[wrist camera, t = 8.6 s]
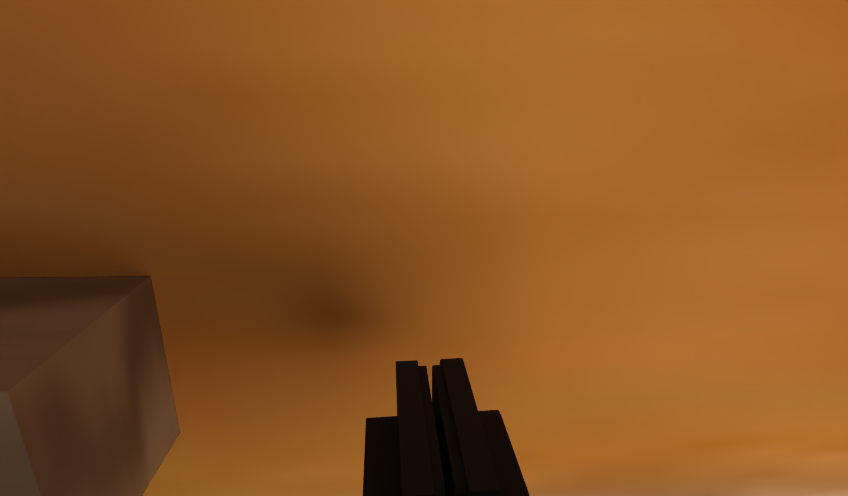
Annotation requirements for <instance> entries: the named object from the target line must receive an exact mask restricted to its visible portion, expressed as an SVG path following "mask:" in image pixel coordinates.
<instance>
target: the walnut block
mask: <svg viewBox="0 0 848 496" xmlns="http://www.w3.org/2000/svg"><path fill="white" fill-rule="evenodd" d="M179 433H180V430H179V425H178V419H177V414H176V409H175V403H174V398H173V393H172V387H171V382H170V377H169V371H168V366H167V361H166V356H165V350H164V345H163V340H162V334H161V329H160V324H159V318H158V313H157V308H156V302H155V297H154V292H153V287H152V281H151V276H107V277H18V278H0V496H142V495H143V493H144V492H145V490H146V488H147V487H148V485H149V483H150V481H151V480H152V478H153V476H154V475H155V473H156V471H157V470H158V468H159V466H160V465H161V463H162V461H163V460H164V458H165V456H166V455H167V453H168V451H169V450H170V448H171V446H172V445H173V443H174V441H175V440H176V438H177V436H178V435H179Z"/></svg>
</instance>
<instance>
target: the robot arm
mask: <svg viewBox="0 0 848 496" xmlns="http://www.w3.org/2000/svg"><path fill="white" fill-rule="evenodd" d="M396 388H397V416H392V417H376V418H366V433H365V458H364V482H363V496H529V493H528V490H527V487H526V484H525V481H524V479H523V476H522V473H521V470H520V467H519V465H518V462H517V459H516V456H515V453H514V450H513V448H512V445H511V442H510V439H509V436H508V433H507V431H506V428H505V425H504V422H503V419H502V417H501V414H500V412H499V411H498V410H489V411H478V410H477V406H476V403H475V399H474V396H473V392H472V389H471V385H470V382H469V379H468V375H467V372H466V368H465V365H464V361H463V359H462V358H455V359H441V360H440V365H433V366H432V400H431V393H430V387H429V381H428V374H427V368H426V366H418V362H417V360H416V361H397V362H396Z"/></svg>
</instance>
